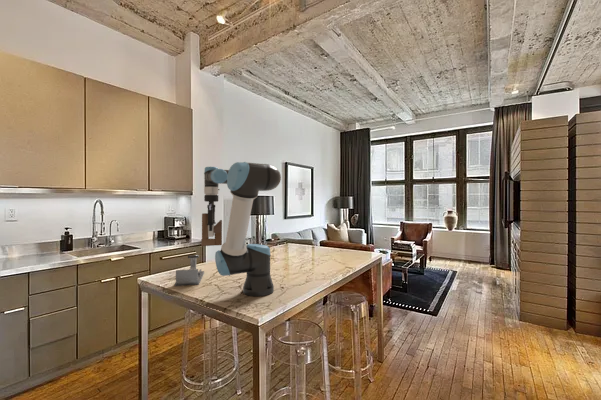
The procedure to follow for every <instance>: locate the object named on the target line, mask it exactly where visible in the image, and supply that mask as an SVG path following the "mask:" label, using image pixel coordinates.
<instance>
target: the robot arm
mask: <svg viewBox="0 0 601 400" xmlns="http://www.w3.org/2000/svg"><path fill="white" fill-rule="evenodd" d="M203 179H204V185H203V188H204V189H203V190H204V191H203V193H204V198H203V199H204V202H208V204H207V207H206V208H207V213H208V224H207V225H208V237H209V238H210V237H211V238H213V237H215V233H213V227H214V226H215V225H216V224H217V222H216V221H215V220H216V219H215V217H216V216H215V215H216V214H215V213H216V204H215V203H216V202H219V191H220V188H219V185H220V184H221V185H222V184H225V185H227V188H228V190H230V191H229V192H230V194H231V195H232V202H231V208H230V214H229V221H228V227H227V232H226V238H225V242H223V243H222V245H220V247H221V248H220V250H217V251H215V254H214V260H215V266H216V269H217V272H218V274H219V275H220V276H223V277H224V276H229V277H230V276H234V275H239V274H245V273H246V277H245V281H244V283H243V286H242V293H243V294H244V295H245V296H250V297H263V296H267V295H272V293H274V292H275V288H274V287H275V285H274V283H273V280H272V277H271V256H272V255H271V248H270V247H269V246H268V245H265V244H260V243H248V244H246V240H247V234H248V230H249V224H250V218H251V214H252V208H253V205H254V204H253V203H254V200H255V199H256V198H258V196H259V192H268V191H272V190H274V189H276V188H277V187H278V186H279V185H280V183H281V180H282V176H281V173H280V171H279V169H278V168H277V167H275V166H274V165H272V164H269V163H268V164H267V163H257V162H256V163H255V162H246V161H243V162H241V161H236V162H234V163H233V164H232V165H231V166H230V168H229V169H223V168H219V167H217V166H206V167H204V172H203Z"/></svg>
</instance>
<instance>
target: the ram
mask: <svg viewBox="0 0 601 400" xmlns="http://www.w3.org/2000/svg"><path fill="white" fill-rule="evenodd" d="M199 257H200V255H199V254H195V255H194V254H193V255H191V254H190V255H187V259H189V260H190V266H189V267H190V268H189V269H197V259H198V258H199Z"/></svg>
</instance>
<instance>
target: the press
mask: <svg viewBox="0 0 601 400" xmlns="http://www.w3.org/2000/svg"><path fill="white" fill-rule="evenodd" d="M204 274H205V270H202V268H201V269H198V268H196V269H190V268H189V269H176V270H175V282H174V287H179V286H195V285H196V286H197V285H198V286H199V285H200V284H201V281H202V278H203V276H204Z"/></svg>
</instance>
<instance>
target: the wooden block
mask: <svg viewBox="0 0 601 400" xmlns="http://www.w3.org/2000/svg"><path fill="white" fill-rule="evenodd" d="M207 224H208V212H207V213H202V214H201V239H200V243H201V247H210V246H213V247H214V246H222V245H223V220H222V219H220V220H219V221H217V222H216V224H214V227H213V233H214V238H210V237H208V225H207Z"/></svg>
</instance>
